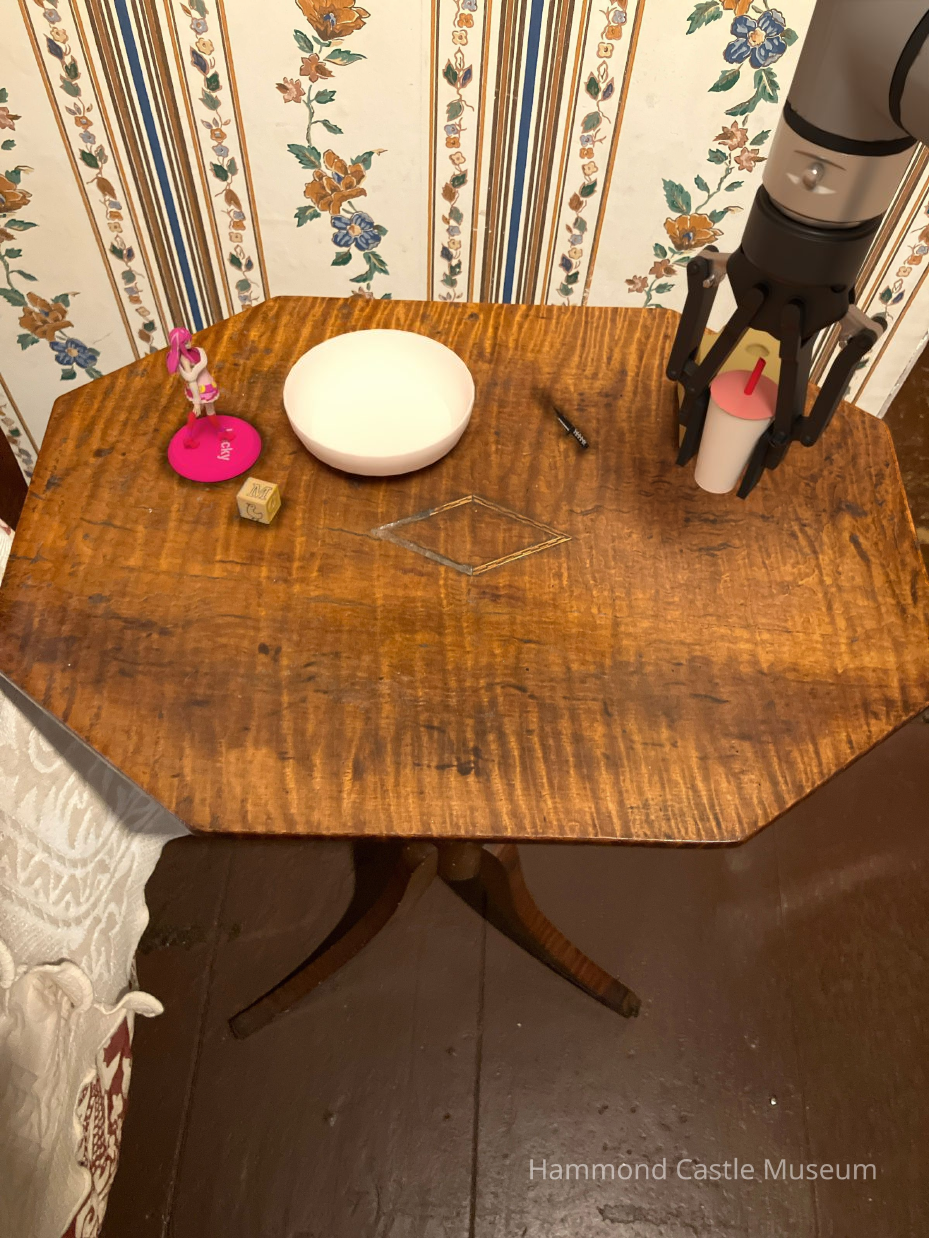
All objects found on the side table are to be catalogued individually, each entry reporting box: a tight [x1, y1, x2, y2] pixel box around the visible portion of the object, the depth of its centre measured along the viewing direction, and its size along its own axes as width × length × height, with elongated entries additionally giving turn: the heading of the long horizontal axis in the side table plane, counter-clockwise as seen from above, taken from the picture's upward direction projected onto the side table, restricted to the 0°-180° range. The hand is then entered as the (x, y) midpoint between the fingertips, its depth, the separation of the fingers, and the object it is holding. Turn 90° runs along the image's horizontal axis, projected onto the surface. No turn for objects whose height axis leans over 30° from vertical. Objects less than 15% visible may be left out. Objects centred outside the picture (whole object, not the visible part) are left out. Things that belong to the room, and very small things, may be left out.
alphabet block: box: [235, 476, 282, 525], centre depth 86 cm, size 3×3×3 cm
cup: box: [693, 357, 778, 494], centre depth 67 cm, size 5×5×12 cm
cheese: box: [677, 324, 781, 452], centre depth 92 cm, size 10×11×10 cm
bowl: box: [282, 328, 476, 477], centre depth 92 cm, size 20×20×6 cm
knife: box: [551, 404, 589, 451], centre depth 96 cm, size 10×2×1 cm, turn 27°
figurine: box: [165, 326, 262, 483], centre depth 86 cm, size 10×10×15 cm
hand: (717, 471), depth 71 cm, fingers closed on cup, 5 cm apart
